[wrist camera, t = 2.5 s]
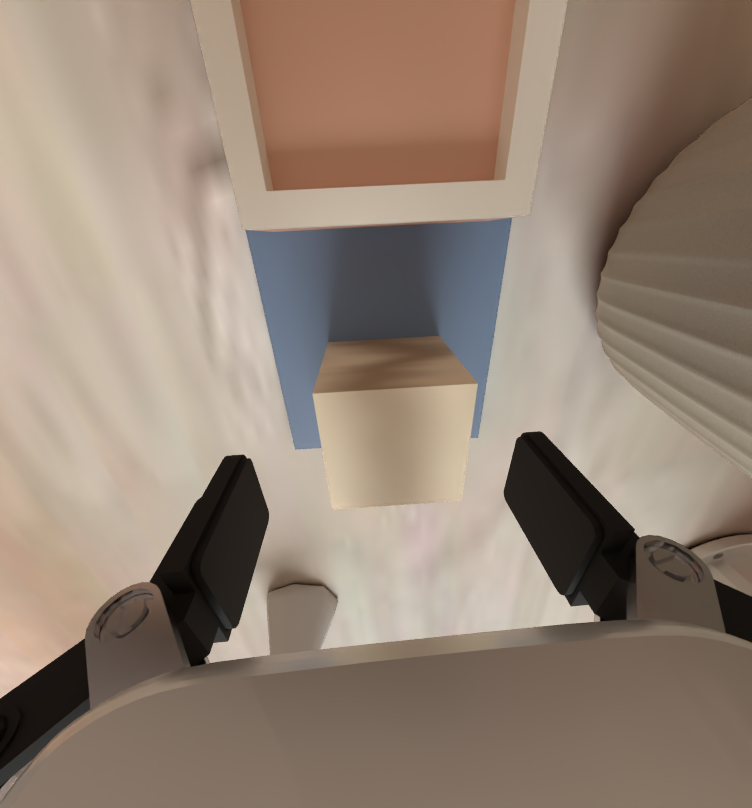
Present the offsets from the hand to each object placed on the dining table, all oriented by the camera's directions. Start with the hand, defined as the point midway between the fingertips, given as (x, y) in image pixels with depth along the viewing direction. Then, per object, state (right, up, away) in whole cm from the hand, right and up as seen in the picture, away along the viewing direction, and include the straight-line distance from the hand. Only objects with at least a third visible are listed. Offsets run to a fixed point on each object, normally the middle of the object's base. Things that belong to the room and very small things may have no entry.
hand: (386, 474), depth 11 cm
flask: (-8, -17, +20) cm, 27 cm away
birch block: (0, +3, +7) cm, 8 cm away
